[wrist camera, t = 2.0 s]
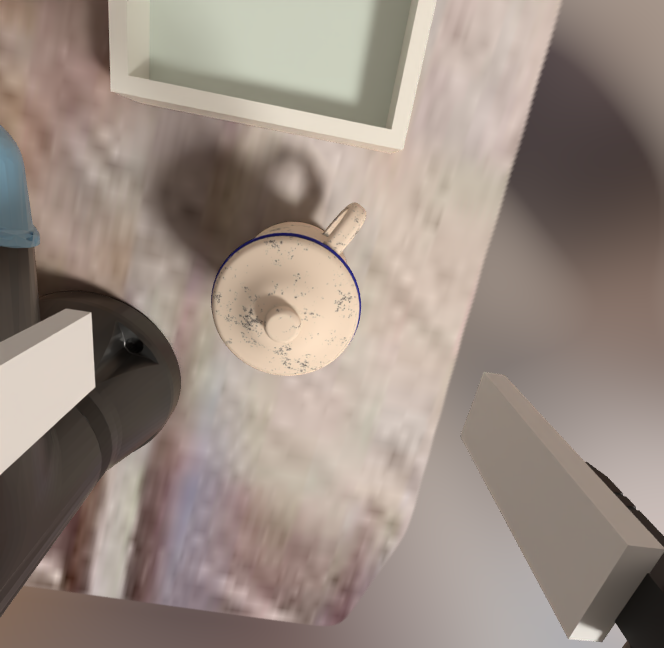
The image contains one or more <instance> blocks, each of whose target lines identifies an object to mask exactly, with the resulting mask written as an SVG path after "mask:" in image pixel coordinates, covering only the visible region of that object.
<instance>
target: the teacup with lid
mask: <svg viewBox="0 0 664 648" xmlns="http://www.w3.org/2000/svg"><path fill="white" fill-rule="evenodd" d="M365 219H366V211H365V209H364V208H363V207H362V206H360V205H359V204H358V203H351V204H349V205H348V206H347V207H346V208H345V209H343V210H342V211H341V212H340V214H339V215H338V216H337V217H336V218H335V219H334V220H333V221H332V223H331V224H330V225H329V226H328V228H327V229H326V230H325V231H323V230H321V229H320V228H318V227H316V226H313V225H310V224H307V223H302V222H284V223H280V224H276V225H273V226H271V227H269V228H267V229H265V230H264V231H262V232H261V233H260V234H258V235H257V236H256V237H255V238H254V239H252V240H250V241H248V242H246V243H244V244H243V245H241V246H240V247H238V248H237V249H236V250H235V251H234V252H233V253H231V254H230V255H229V257H228V258H227V259H226V260H225V261H224V263H223V264H222V266H221V267H220V269H219V271H218V273H217V275H216V278H215V281H214V284H213V288H212V295H211V307H212V314H213V319H214V322H215V326H216V328H217V331H218V333H219V335H220V337H221V338H222V340H223V342H224V343H225V344H226V346H227V347H228V348H229V349H230V351H231V352H232V353H233V354H234V355H236V356H237V357H238V358H239V359H240V360H242V361H243V362H244V363H246V364H248V365H249V366H251V367H253V368H255V369H258V370H260V371H263V372H266V373H270V374H275V375H284V376H292V375H301V374H306V373H310V372H313V371H316V370H318V369H320V368H322V367H324V366H326V365H328V364H329V363H331V362H332V361H333V360H335V359H336V358H337V357H338V356H339V355H340V354H341V353H342V352H343V351H344V350H345V349H346V347H347V346H348V345H349V343H350V342H351V340H352V338H353V336H354V335H355V332H356V330H357V327H358V324H359V319H360V313H361V299H360V292H359V288H358V285H357V282H356V279H355V277H354V275H353V273H352V271H351V270H350V268H349V266H348V265H347V262H346V259H345V256H344V254H343V252H342V251H343V250H344V249H345V247H346V246H347V245H348V244H349V243H350V241H351V240H352V239H353V238H354V236H355V235H356V234H357V232H358V231H359V229H360V228H361V226H362V225H363V223H364V221H365Z"/></svg>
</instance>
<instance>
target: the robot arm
mask: <svg viewBox="0 0 664 648" xmlns="http://www.w3.org/2000/svg"><path fill="white" fill-rule="evenodd" d="M39 244H40V235H39V232H38V231H37V229H36V228H35V226H34V225H33V224H32V217H31V210H30V203H29V196H28V189H27V182H26V175H25V168H24V162H23V158H22V155H21V152H20V150H19V148H18V146H17V144H16V142H15V141H14V140H13V138H12V137H11V136H10V134H9V133H8V132H7V131H6V130H5V129H4V128H3V127H2V126H1V125H0V617H1V616H2V614H3V613H4V612H5V610H6V609H7V607H8V606H9V605H10V603H11V602H12V600H13V599H14V598H15V596H16V595H17V593H18V592H19V591H20V589H21V588H22V587H23V585H24V584H25V582H26V581H27V580H28V578H29V577H30V576H31V574H32V573H33V571H34V570H35V569H36V567H37V566H38V564H39V563H40V562H41V560H42V559H43V557H44V556H45V555H46V553H47V552H48V551H49V549H50V548H51V546H52V545H53V544H54V542H55V541H56V539H57V538H58V537H59V535H60V534H61V533H62V531H63V530H64V528H65V527H66V526H67V524H68V523H69V521H70V520H71V519H72V517H73V516H74V514H75V513H76V512H77V510H78V509H79V508H80V506H81V505H82V503H83V502H84V501H85V499H86V498H87V496H88V495H89V494H90V492H91V491H92V489H93V488H94V486H95V485H96V484H97V482H98V481H99V480H100V478H101V477H102V476H103V474H104V473H105V472H106V471H107V470H109V469H110V468H111V467H113V466H114V465H115V464H117V463H118V462H120V461H121V460H122V459H124V458H125V457H127V456H128V455H129V454H131V453H132V452H134V451H136V450H137V449H139V448H141V447H142V446H144V445H145V444H147V443H148V442H149V441H151V440H152V439H153V438H154V437H155V436H156V435H157V434H158V433H159V432H160V431H161V429H162V428H163V427H164V425H165V424H166V422H167V420H168V419H169V417H170V416H171V414H172V412H173V411H174V409H175V407H176V405H177V402H178V399H179V395H180V389H181V376H180V370H179V365H178V362H177V359H176V356H175V354H174V352H173V350H172V348H171V346H170V344H169V343H168V341H167V340H166V338H165V337H164V336H163V334H162V333H161V332H160V331H159V329H158V328H157V327H156V326H155V325H154V324H153V323H152V322H151V321H149V320H148V319H147V318H146V317H145V316H143V315H142V314H141V313H139V312H138V311H136V310H135V309H133V308H132V307H130V306H128V305H126V304H124V303H122V302H120V301H118V300H115V299H113V298H110V297H107V296H104V295H100V294H96V293H91V292H83V291H65V292H57V293H52V294H48V295H45V296H42V297H40V298H39V297H38V285H37V273H36V261H35V249H34V247H35V246H37V245H39ZM460 437H461V439H462V441H463V442H464V444H465V446H466V448H467V450H468V452H469V454H470V456H471V457H472V459H473V461H474V463H475V465H476V467H477V469H478V471H479V473H480V474H481V476H482V478H483V480H484V482H485V484H486V485H487V487H488V489H489V491H490V493H491V495H492V497H493V499H494V500H495V502H496V504H497V506H498V508H499V510H500V512H501V514H502V516H503V517H504V519H505V521H506V523H507V525H508V527H509V529H510V531H511V532H512V534H513V536H514V538H515V540H516V542H517V544H518V546H519V547H520V549H521V551H522V553H523V555H524V557H525V559H526V561H527V562H528V564H529V566H530V568H531V570H532V571H533V574H534V576H535V577H536V579H537V581H538V583H539V585H540V587H541V589H542V591H543V592H544V594H545V596H546V598H547V600H548V602H549V604H550V605H551V607H552V609H553V611H554V613H555V615H556V616H557V619H558V620H559V622H560V624H561V626H562V628H563V630H564V632H565V633H566V635H567V637H568V639H574V640H585V641H596V642H603V640H604V639H605V637H606V635H607V634H608V633H609V631H610V630H611V628H612V627H613V626H614V624H615V623H616V624H617V625H618V627H619V629H620V630H621V632H622V633H623V635H624V636H625V638H626V639H627V642H626V643H625V644H624V646H623V647H622V648H664V536H663V535H662V534H661V533H660V532H659V531H658V530H657V529H656V528H655V527H654V526H653V524H652V523H651V522H650V521H649V520H648V519H647V518H646V517H645V516H644V515H643V514H642V513H641V512H640V511H638V510H636V507H635V506H634V504H633V503H632V502H631V501H630V500H629V499H628V498H627V497H625V496H623V493H622V492H621V491H620V490H619V489H618V488H617V487H616V486H615V485H614V483H613V482H612V481H611V480H610V479H609V478H608V477H607V476H605V475H604V474H603V473H601V472H600V471H598V470H597V469H596V468H594V467H593V466H592V465H590V464H589V463H588V462H584V461H583V459H582V458H581V457H580V456H579V455H578V454H577V453H576V452H575V451H574V450H573V449H572V448H571V446H569V444H568V443H567V442H566V441H565V440H564V439H563V438H562V437H561V436H560V435H559V433H557V431H556V430H555V429H554V428H553V427H552V426H551V425H550V424H549V423H548V422H547V421H546V419H545V418H543V416H542V415H541V414H540V413H539V412H538V411H537V410H536V409H535V408H534V406H533V405H532V404H531V403H530V402H529V401H528V400H527V399H526V398H525V397H524V396H523V395H522V393H521V392H520V391H519V390H518V389H517V388H516V387H515V386H514V385H513V384H512V383H511V382H510V381H509V379H508V378H507V377H506V376H505V375H501V374H495V373H488V372H483V375H482V378H481V380H480V383H479V386H478V388H477V392H476V394H475V397H474V400H473V402H472V405H471V408H470V411H469V413H468V416H467V419H466V422H465V424H464V427H463V430H462V433H461V435H460Z"/></svg>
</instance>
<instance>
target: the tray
mask: <svg viewBox="0 0 664 648" xmlns="http://www.w3.org/2000/svg"><path fill="white" fill-rule="evenodd" d="M436 1H437V0H108V9H109V46H110V83H111V91H112V92H114V93H117V94H119V95H122V96H124V97H126V98H129V99H131V100H134V101H136V102H139V103H141V104H146V105H151V106H156V107H161V108H166V109H171V110H176V111H181V112H186V113H191V114H196V115H201V116H206V117H211V118H216V119H221V120H226V121H231V122H236V123H241V124H246V125H251V126H256V127H261V128H266V129H271V130H276V131H281V132H286V133H291V134H296V135H301V136H306V137H311V138H316V139H321V140H326V141H331V142H336V143H341V144H346V145H351V146H356V147H361V148H366V149H371V150H376V151H381V152H386V153H391V154H393V153H396V152H399V151H402V150H403V148H404V144H405V139H406V135H407V130H408V126H409V121H410V117H411V112H412V108H413V103H414V99H415V94H416V90H417V85H418V81H419V77H420V72H421V68H422V63H423V59H424V54H425V50H426V45H427V41H428V36H429V32H430V27H431V23H432V18H433V14H434V10H435V5H436Z"/></svg>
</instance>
